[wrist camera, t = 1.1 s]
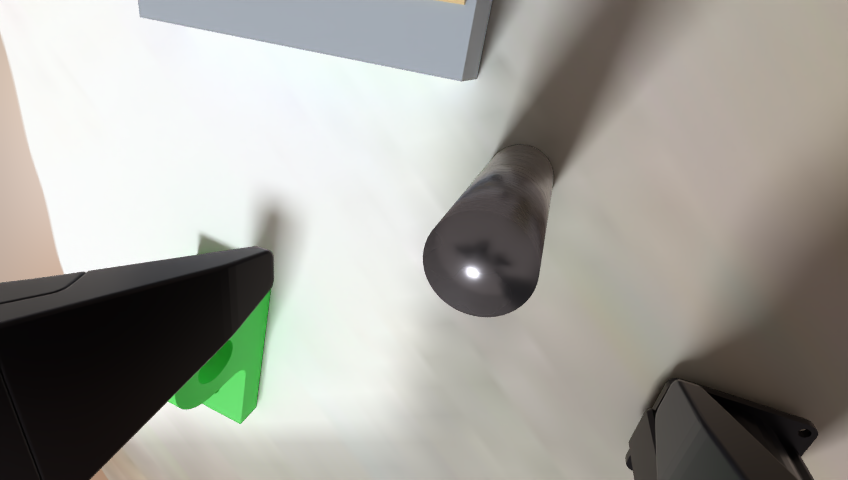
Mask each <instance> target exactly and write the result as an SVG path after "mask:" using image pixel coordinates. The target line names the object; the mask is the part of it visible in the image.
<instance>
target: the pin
mask: <svg viewBox="0 0 848 480" xmlns="http://www.w3.org/2000/svg"><path fill="white" fill-rule="evenodd" d="M553 180H554V174H553V168H552V165H551V163H550V161H549V160H548V158H547V157H546V156H545V155H544V154H543V153H542V152H541V151H540V150H538V149H536V148H534V147H532V146H528V145H512V146H509V147H506V148H504V149H502V150H501V151H499V152H498V153H497V154H496V155H495V156H494V157H493V158H492V159H491V161H490V162H489V163H488V164H487V165H486V167H485V168H484V169H483V170H482V171H481V173H480V174H479V175H478V176H477V177H476V179H475V180H474V181H473V182H472V183H471V185H470V186H469V187H468V188H467V189H466V191H465V192H464V193H463V194H462V195H461V197H460V198H459V199H458V200H457V201H456V203H455V204H454V205H453V206H452V207H451V209H450V210H449V211H448V212H447V213H446V215H445V216H444V217H443V218H442V219H441V221H440V222H439V223H438V224H437V225H436V227H435V228H434V229H433V230H432V232H431V233H430V235H429V236H428V238H427V241H426V243H425V247H424V252H423V265H424V271H425V274H426V277H427V279H428V281H429V283H430V285H431V287H432V288H433V290H434V291H435V292H436V294H437V295H438V296H439V297H440V298H441V299H442V300H443V301H444V302H446V303H447V304H448V305H450V306H451V307H453V308H455V309H456V310H458V311H461V312H463V313H466V314H469V315H473V316H479V317H496V316H501V315H504V314H507V313H510V312H512V311H514V310H516V309H517V308H519V307H520V306H522V305H523V304H524V303H525V302H526V301H527V300H528V299H529V298H530V296H531V295H532V293H533V292H534V290H535V288H536V285H537V282H538V278H539V272H540V266H541V259H542V253H543V246H544V239H545V233H546V226H547V220H548V213H549V207H550V200H551V194H552V187H553Z"/></svg>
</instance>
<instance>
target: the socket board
mask: <svg viewBox="0 0 848 480" xmlns="http://www.w3.org/2000/svg"><path fill="white" fill-rule="evenodd" d="M492 1H493V0H138V5H139V13H140V17H142V18H147V19H152V20H157V21H162V22H167V23H172V24H177V25H182V26H187V27H192V28H197V29H202V30H207V31H212V32H217V33H222V34H227V35H232V36H237V37H242V38H247V39H252V40H257V41H262V42H267V43H272V44H277V45H282V46H287V47H292V48H297V49H302V50H307V51H312V52H317V53H322V54H327V55H332V56H337V57H342V58H347V59H352V60H357V61H362V62H367V63H372V64H377V65H382V66H387V67H392V68H397V69H402V70H407V71H412V72H417V73H422V74H427V75H432V76H437V77H442V78H447V79H452V80H457V81H467V80H473V79H477V75H478V70H479V65H480V60H481V55H482V50H483V45H484V40H485V35H486V30H487V26H488V21H489V16H490V11H491V6H492Z"/></svg>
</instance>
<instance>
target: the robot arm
mask: <svg viewBox="0 0 848 480" xmlns="http://www.w3.org/2000/svg"><path fill="white" fill-rule="evenodd" d="M273 281H274V257H273V253H272V252H271V251H270V250H267V249H264V248H261V247H257V246H253V247H246V248H240V249H233V250H226V251H219V252H213V253H206V254H199V255H192V256H186V257H179V258H172V259H166V260H159V261H152V262H145V263H139V264H132V265H125V266H118V267H112V268H105V269H98V270H91V271H88V272H77V273H71V274H64V275H57V276H50V277H42V278H35V279H28V280H20V281H11V282H2V283H0V480H90V479H91V478H92V477H93V476H94V475H95V474H96V473H97V472H98V471H99V470H100V469H101V468H102V467H103V466H104V465H105V464H106V463H107V462H108V461H109V460H110V459H111V458H112V457H113V456H114V455H115V454H116V453H117V452H118V451H119V450H120V449H121V448H122V447H123V446H124V445H125V444H126V443H127V442H128V441H129V440H130V439H131V438H132V437H133V436H134V435H135V434H136V433H137V432H138V431H139V430H140V429H141V428H142V427H143V426H144V425H145V424H146V423H147V422H148V421H149V420H150V419H151V418H152V417H153V416H154V415H155V414H156V413H157V412H158V411H159V410H160V409H161V408H162V407H163V406H164V405H165V404H166V403H167V402H168V401H169V400H170V399H171V398H172V397H173V396H174V395H175V394H176V393H177V392H178V391H179V390H180V389H181V388H182V387H183V386H184V385H185V384H186V383H187V382H188V381H189V380H190V379H191V378H192V377H193V376H194V375H195V374H196V373H197V372H198V371H199V370H200V369H201V368H202V367H203V366H204V365H205V364H206V363H207V362H208V361H209V360H210V359H211V357H212V356H213V355H214V354H215V353H216V352H217V351H218V350H219V349H220V348H221V347H222V346H223V345H224V344H225V343H226V342H227V341H228V340H229V339H230V338H231V337H232V336H233V335H234V334H235V333H236V331H237V330H238V329H239V328H240V327H241V325H242V324H243V323H244V322H245V321H246V319H247V318H248V317H249V316H250V314H251V313H252V312H253V311H254V309H255V308H256V307H257V306H258V305H259V303H260V302H261V301H262V300H263V298H264V297H265V296H266V295H267V293H268V292H269V291H270V289H271V288H272V285H273ZM801 429H806V430H804V431H799V430H801ZM817 436H818V431H817V429H816V428H815V426H814V425H813V424H812V423H811V421H809V420H807V419H804V418H801V417H797V416H794V415H791V414H788V413H785V412H782V411H779V410H776V409H773V408H770V407H766V406H763V405H760V404H757V403H754V402H751V401H748V400H745V399H742V398H738V397H735V396H732V395H729V394H726V393H723V392H720V391H717V390H714V389H711V388H707V387H704V386H701V385H698V384H695V383H692V382H689V381H686V380H683V379H678V378H673V379H670V380H668V381H667V382H666V384H665V386H664V387H663V389H662V391H661V393H660V395H659V396H658V398H657V400H656V402H655V404H654V405H653V407H652V408H650V409H648V410H646V411H645V413H644V415H643V417H642V418H641V420H640V422H639V424H638V426H637V428H636V429H635V431H634V433H633V435H632V437H631V439H630V440H629V447H630V449H629V451H628V452H627V454H626V457H625V459H626V465H627V467H628V468H629V469H631V470H633V474H634V480H814V479H813V477H812V475H811V474H810V472H809V470H808V468H807V467H806V465H805V463H804V462H803V460H802V458H801V456H802V455H803V453H804V452H805V451H806V450H807V449H808V447H809V446H810V445H811V444H812V443H813V441H814V440H815V439H816V438H817Z"/></svg>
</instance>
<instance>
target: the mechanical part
mask: <svg viewBox="0 0 848 480" xmlns="http://www.w3.org/2000/svg"><path fill="white" fill-rule="evenodd" d="M197 255H198V254H197ZM270 293H271V289H270V291H269V292H268V293H267V295H266V296H265V297H264V298H263V300H262V301H261V302H260V303H259V305H258V306H257V307H256V308H255V309H254V311H253V312H252V313H251V314H250V316H249V317H248V318H247V319H246V321H245V322H244V323H243V324H242V325H241V327H240V328H239V329H238V330H237V331H236V333H235V334H234V335H233V336H232V337H231V338H230V339H229V340H228V341H227V342H226V343H225V344H224V345H223V346H222V347H221V348H220V349H219V350H218V351H217V352H216V353H215V354H214V355H213V356H212V357H211V359H210V360H209V361H208V362H207V363H206V364H205V365H204V366H203V367H202V368H201V369H200V370H199V371H198V372H197V373H196V374H195V375H194V376H193V377H192V378H191V379H190V380H189V381H188V382H187V383H186V384H185V385H184V386H183V387H182V388H181V389H180V390H179V391H178V392H177V393H176V394H175V395H174V396H173V397H172V398H171V399H170V400H169V401H168V402H170V403H172V404H174V405H175V406H177V407H179V408H181V409H192V408H194V407H196V406H198V405H200V404H204V405H206V406H207V407H209V408H211V409H213V410H215V411H217V412H219V413H220V414H222V415H224V416H226V417H228V418H230V419H232V420H234V421H236V422H237V423H239V424H241V423H242V422H243V421H244V420H245V419H246V418H247V417H248V416H249V414H250V413H251V412H252V411H253V410H254V409H255V408H256V404H257V396H258V388H259V380H260V372H261V364H262V356H263V348H264V340H265V332H266V324H267V316H268V309H269V301H270Z"/></svg>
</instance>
